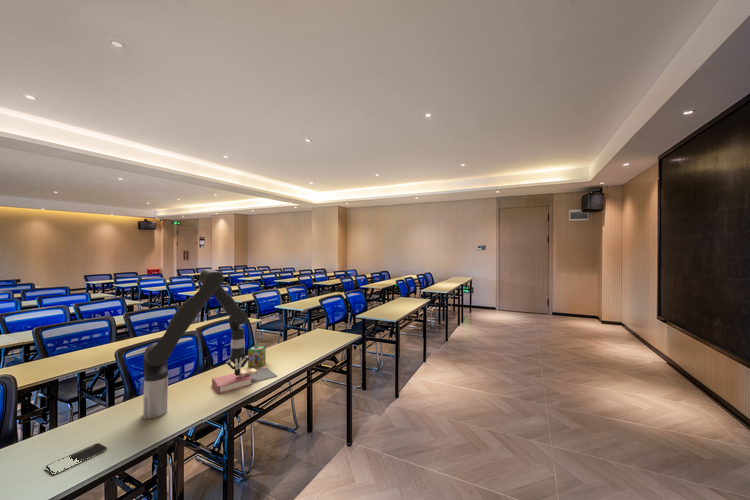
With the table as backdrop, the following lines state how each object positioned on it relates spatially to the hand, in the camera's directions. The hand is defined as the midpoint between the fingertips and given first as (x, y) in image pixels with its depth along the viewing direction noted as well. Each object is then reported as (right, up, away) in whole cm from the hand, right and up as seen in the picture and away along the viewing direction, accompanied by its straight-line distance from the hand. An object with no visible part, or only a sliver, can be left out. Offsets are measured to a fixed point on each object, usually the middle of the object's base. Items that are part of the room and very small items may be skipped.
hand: (237, 375), depth 176 cm
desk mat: (+8, -5, +12) cm, 16 cm away
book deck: (-2, -5, -2) cm, 6 cm away
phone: (-29, -4, -66) cm, 72 cm away
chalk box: (-1, -6, +31) cm, 32 cm away
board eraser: (+5, -1, +4) cm, 6 cm away
